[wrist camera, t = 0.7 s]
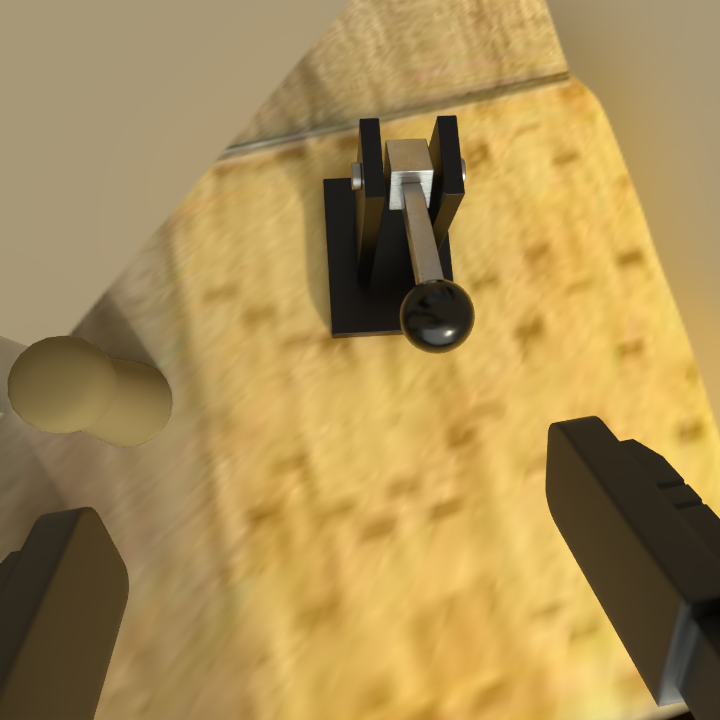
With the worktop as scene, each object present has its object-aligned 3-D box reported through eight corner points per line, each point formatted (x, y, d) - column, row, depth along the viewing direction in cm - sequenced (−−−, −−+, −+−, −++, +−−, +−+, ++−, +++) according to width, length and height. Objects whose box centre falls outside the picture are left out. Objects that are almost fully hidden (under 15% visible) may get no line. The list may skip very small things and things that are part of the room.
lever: (474, 365, 24) (488, 318, 21) (401, 370, 24) (407, 323, 21) (429, 182, 32) (436, 131, 29) (374, 184, 31) (376, 133, 29)
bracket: (454, 331, 40) (513, 264, 27) (332, 338, 40) (329, 273, 26) (439, 181, 43) (486, 49, 29) (323, 186, 42) (316, 54, 29)
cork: (190, 395, 39) (132, 368, 28) (132, 465, 38) (50, 464, 27) (124, 344, 39) (43, 298, 28) (66, 412, 38) (-42, 390, 27)
